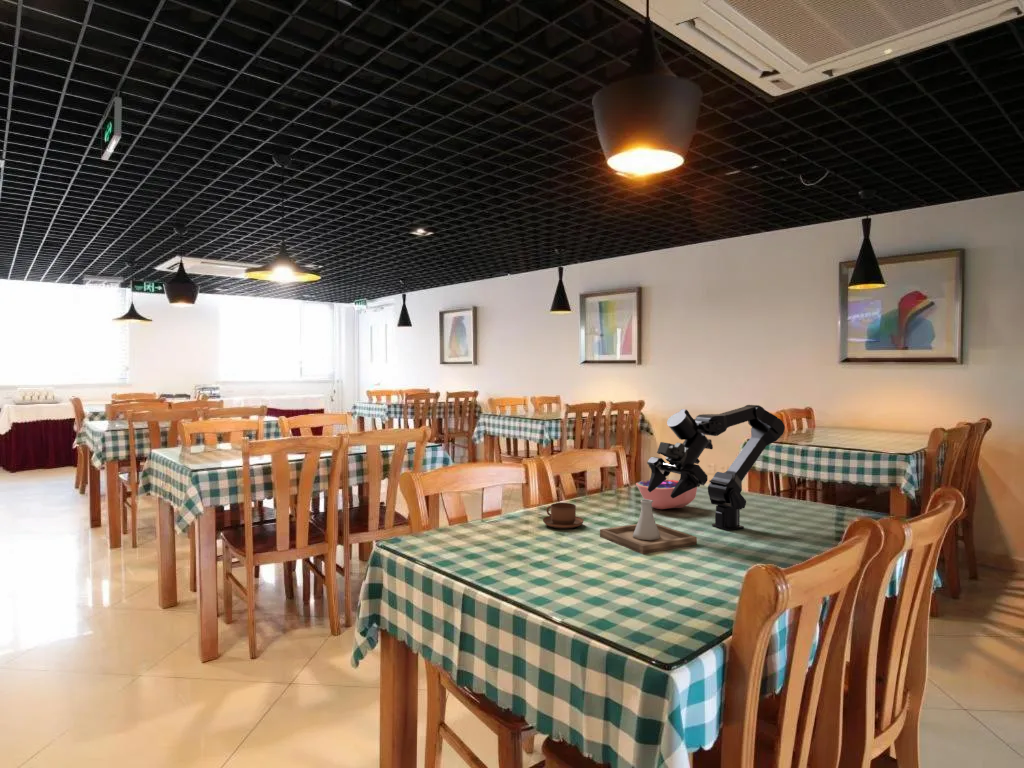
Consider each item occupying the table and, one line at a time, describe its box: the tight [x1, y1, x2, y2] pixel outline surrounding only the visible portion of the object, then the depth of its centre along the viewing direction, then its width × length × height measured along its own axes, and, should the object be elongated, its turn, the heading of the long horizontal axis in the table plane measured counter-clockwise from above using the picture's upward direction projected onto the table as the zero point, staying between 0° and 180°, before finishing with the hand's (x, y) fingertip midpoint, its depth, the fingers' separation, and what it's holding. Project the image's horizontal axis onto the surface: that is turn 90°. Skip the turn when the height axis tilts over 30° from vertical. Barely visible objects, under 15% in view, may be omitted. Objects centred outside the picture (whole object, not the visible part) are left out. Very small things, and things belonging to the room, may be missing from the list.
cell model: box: [635, 479, 698, 510], centre depth 200 cm, size 17×20×11 cm
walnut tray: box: [599, 523, 698, 555], centre depth 162 cm, size 18×18×2 cm
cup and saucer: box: [542, 502, 584, 530], centre depth 178 cm, size 12×12×6 cm
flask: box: [632, 498, 660, 540], centre depth 162 cm, size 7×7×10 cm
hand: (659, 494), depth 164 cm, fingers open, 9 cm apart
